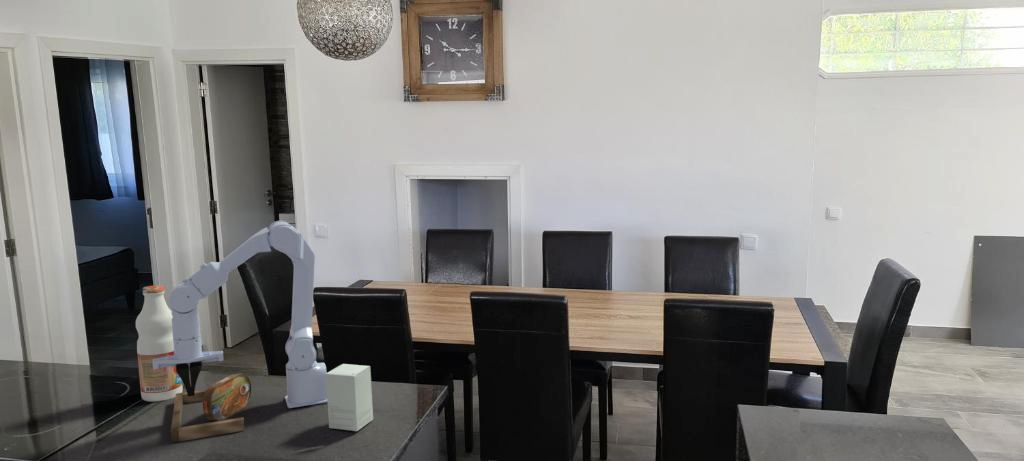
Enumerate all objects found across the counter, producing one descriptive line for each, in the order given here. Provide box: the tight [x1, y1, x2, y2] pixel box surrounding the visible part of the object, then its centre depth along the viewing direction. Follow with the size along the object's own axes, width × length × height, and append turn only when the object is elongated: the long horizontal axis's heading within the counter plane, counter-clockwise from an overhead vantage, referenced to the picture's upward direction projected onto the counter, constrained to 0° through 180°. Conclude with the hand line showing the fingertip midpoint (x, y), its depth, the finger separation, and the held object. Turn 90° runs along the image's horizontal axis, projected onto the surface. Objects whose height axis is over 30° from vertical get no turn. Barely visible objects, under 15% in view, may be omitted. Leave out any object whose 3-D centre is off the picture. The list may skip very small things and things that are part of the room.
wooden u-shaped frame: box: [170, 388, 246, 444], centre depth 162 cm, size 14×25×2 cm, turn 23°
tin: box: [201, 373, 252, 421], centre depth 163 cm, size 15×3×8 cm, turn 166°
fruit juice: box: [135, 284, 184, 402], centre depth 174 cm, size 9×9×28 cm
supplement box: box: [326, 363, 374, 432], centre depth 155 cm, size 7×7×13 cm
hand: (191, 394), depth 160 cm, fingers closed
